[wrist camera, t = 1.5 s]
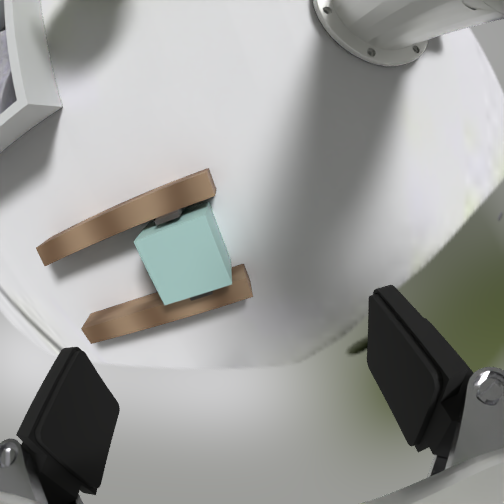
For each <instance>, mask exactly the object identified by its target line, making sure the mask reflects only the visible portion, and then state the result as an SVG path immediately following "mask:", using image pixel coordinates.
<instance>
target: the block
mask: <svg viewBox="0 0 504 504" xmlns="http://www.w3.org/2000/svg"><path fill="white" fill-rule="evenodd" d="M134 244H135V246H136V248H137V250H138V252H139V255H140V257H141V259H142V261H143V263H144V265H145V267H146V269H147V271H148V273H149V275H150V277H151V279H152V281H153V283H154V285H155V287H156V289H157V291H158V293H159V295H160V297H161V299H162V301H163V303H164V305H168V304H171V303H174V302H177V301H181V300H184V299H187V298H190V297H194V296H197V295H200V294H203V293H206V292H210V291H213V290H216V289H219V288H222V287H225V286H228V285H232V271H231V259H230V256H229V254H228V251H227V248H226V246H225V243H224V241H223V238H222V235H221V233H220V230H219V227H218V225H217V222H216V219H215V217H214V214H213V211H212V209H211V206H210V203H209V201H207V202H204V203H202V204H199V205H196V206H193V207H191V208H188V209H185V210H183V212H182V213H181V215H180V217H178V218H175V219H172V220H170V221H167V222H165V223H162V224H159V225H157V226H156V224H155V221H153V222H151V223H148V224H147V226H146V227H145V228H144V229H143V230H142V232H141V233H140V234H139V235H138V237H137V238H136V239H135V240H134Z"/></svg>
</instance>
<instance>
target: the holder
mask: <svg viewBox="0 0 504 504" xmlns="http://www.w3.org/2000/svg"><path fill="white" fill-rule="evenodd" d="M5 26H6V37H7V46H8V54H9V61H10V67H11V73H12V78H13V84H14V89H15V93H16V98H17V101H16V102H14V103H13V104H12V105H11V106H10V107H8V108H7V109H6V110H5V111H4V112H3V113H1V114H0V153H1V152H2V151H3V150H4V149H6V148H7V147H8V146H9V145H11V144H12V143H13V142H14V141H16V140H17V139H18V138H19V137H21V136H22V135H23V134H25V133H26V132H27V131H29V130H30V129H31V128H33V127H34V126H35V125H37V124H38V123H40V122H41V121H43V120H44V119H45V118H47V117H48V116H50V115H51V114H53V113H54V112H56V111H57V110H59V109H60V108H62V107H63V106H62V102H61V98H60V95H59V91H58V87H57V84H56V80H55V76H54V71H53V67H52V63H51V58H50V54H49V49H48V44H47V39H46V33H45V27H44V21H43V15H42V8H41V0H0V30H2V29H3V28H4V27H5Z"/></svg>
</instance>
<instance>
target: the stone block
mask: <svg viewBox="0 0 504 504" xmlns="http://www.w3.org/2000/svg"><path fill="white" fill-rule="evenodd" d="M16 101H17V98H16V93H15V89H14V84H13V78H12V73H11V67H10V61H9V54H8V46H7V37H6V30H4V31H2V32H0V114H1V113H3V112H4V111H5V110H6V109H7V108H8V107H10V106H11V105H12V104H13V103H14V102H16Z"/></svg>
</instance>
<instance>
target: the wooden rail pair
mask: <svg viewBox="0 0 504 504" xmlns="http://www.w3.org/2000/svg"><path fill="white" fill-rule="evenodd" d="M215 194H216V187H215V185H214V182H213V179H212V176H211V174H210V171H209V168H208V169H205V170H202V171H199V172H197V173H194V174H191V175H189V176H186V177H183V178H181V179H178V180H176V181H173V182H171V183H168V184H166V185H163V186H161V187H158V188H156V189H153V190H151V191H148V192H146V193H144V194H141V195H139V196H137V197H134V198H132V199H130V200H127V201H125V202H123V203H121V204H118V205H116V206H114V207H112V208H110V209H107V210H105V211H103V212H101V213H99V214H97V215H95V216H92V217H90V218H88V219H86V220H84V221H82V222H80V223H78V224H76V225H74V226H72V227H70V228H68V229H66V230H64V231H62V232H60V233H58V234H56V235H54V236H53V237H51V238H49V239H48V240H46V241H45V242H44V243H42V244H41V245H39V246H38V247H37V248H36V249H37V251H38V254H39V256H40V258H41V260H42V262H43V264H44V266H47V265H49V264H51V263H53V262H55V261H57V260H59V259H61V258H64V257H66V256H68V255H70V254H72V253H75V252H77V251H79V250H81V249H83V248H86V247H88V246H90V245H92V244H95V243H97V242H99V241H102V240H104V239H106V238H109V237H111V236H113V235H116V234H118V233H120V232H123V231H125V230H128V229H130V228H132V227H135V226H137V225H140V224H142V223H145V222H147V221H150V220H152V219H155V218H156V220H155V224H156V226H157V225H159V224H162V223H165V222H167V221H170V220H172V219H175V218H178V217H180V215H181V213H182V212H183V210H184V208H185V207H186V206H189V205H191V204H194V203H197V202H200V201H202V200H205V199H208V198H211V197H213V196H215ZM231 271H232V285H228V286H225V287H222V288H219V289H216V290H213V291H210V292H206V293H203V294H200V295H197V296H194V297H190V298H187V299H184V300H181V301H177V302H174V303H171V304H168V305H164V303H163V301H162V299H161V297H160V295H159V293H158V292H156V293H153V294H150V295H147V296H144V297H141V298H138V299H135V300H132V301H128V302H125V303H122V304H119V305H116V306H113V307H110V308H107V309H104V310H101V311H97V312H94V313H91V314H90V316H89V317H88V319H87V320H86V322H85V324H84V325H83V327H82V331H83V332H84V334H85V335H86V337H87V338H88V340H89V341H90V343H91V344H92V343H96V342H100V341H104V340H107V339H111V338H115V337H119V336H122V335H126V334H130V333H133V332H137V331H141V330H144V329H148V328H151V327H155V326H158V325H162V324H165V323H169V322H172V321H176V320H179V319H183V318H186V317H189V316H193V315H196V314H199V313H203V312H206V311H209V310H212V309H216V308H219V307H222V306H225V305H228V304H232V303H235V302H238V301H241V300H244V299H247V298H250V297H253V294H252V288H251V283H250V279H249V277H248V274H247V271H246V269H245V266H244V264H241V265H238V266H235V267H232V268H231Z"/></svg>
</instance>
